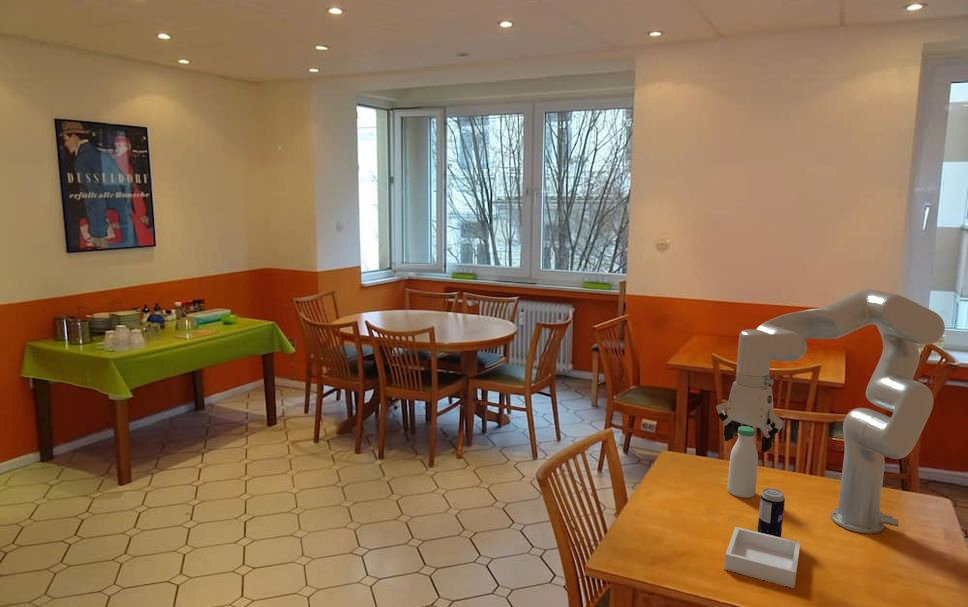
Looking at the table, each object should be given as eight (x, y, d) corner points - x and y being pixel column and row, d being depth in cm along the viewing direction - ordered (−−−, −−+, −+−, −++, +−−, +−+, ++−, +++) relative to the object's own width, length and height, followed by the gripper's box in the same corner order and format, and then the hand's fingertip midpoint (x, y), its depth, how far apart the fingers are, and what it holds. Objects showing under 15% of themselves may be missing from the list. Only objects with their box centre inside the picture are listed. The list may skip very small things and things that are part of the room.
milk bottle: (759, 499, 193) (765, 433, 190) (732, 498, 193) (738, 432, 190) (749, 487, 200) (754, 424, 197) (723, 486, 201) (728, 423, 197)
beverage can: (779, 543, 168) (783, 499, 166) (755, 537, 171) (759, 493, 169) (782, 534, 173) (786, 491, 171) (759, 528, 176) (763, 485, 174)
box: (798, 557, 162) (800, 542, 161) (794, 588, 149) (795, 572, 148) (734, 541, 169) (735, 526, 168) (724, 569, 156) (725, 554, 155)
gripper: (793, 384, 161) (787, 451, 164) (727, 369, 173) (722, 432, 176) (779, 390, 156) (773, 459, 159) (712, 374, 168) (707, 439, 171)
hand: (746, 445), depth 167 cm, fingers open, 9 cm apart
